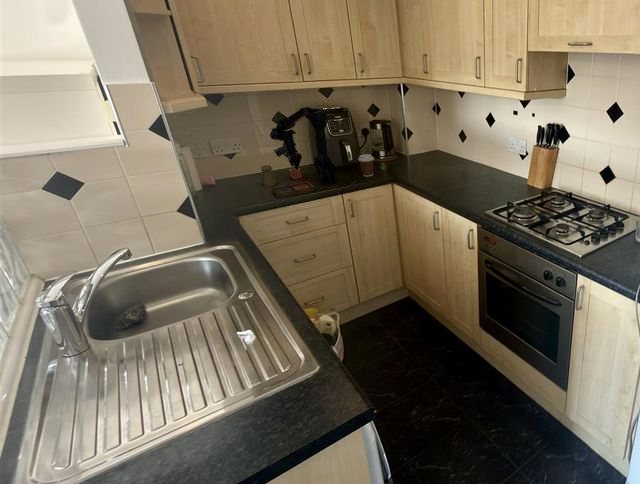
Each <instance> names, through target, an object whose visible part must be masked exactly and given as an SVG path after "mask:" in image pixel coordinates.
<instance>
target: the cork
mask: <svg viewBox="0 0 640 484" xmlns="http://www.w3.org/2000/svg"><path fill="white" fill-rule="evenodd" d="M260 171H261V172H262V175H263V176H262V177H263V186H264V187H274V186H276V185H277V182H276V179H275V177H274V174H273V172H272V171H273V167H272V166H271V165H270V164H264V165H261V167H260Z"/></svg>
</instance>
